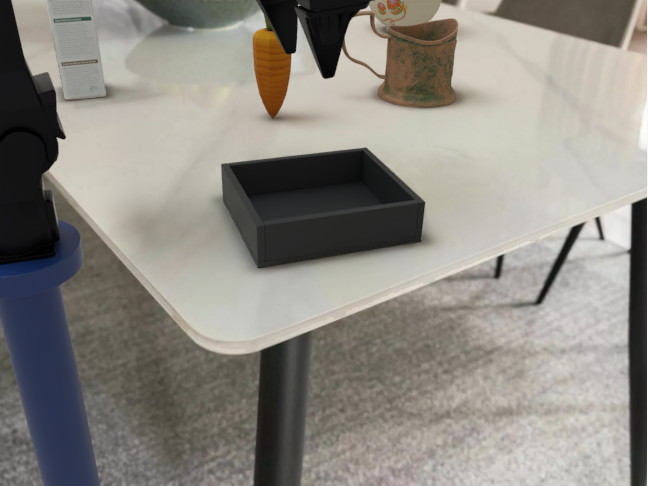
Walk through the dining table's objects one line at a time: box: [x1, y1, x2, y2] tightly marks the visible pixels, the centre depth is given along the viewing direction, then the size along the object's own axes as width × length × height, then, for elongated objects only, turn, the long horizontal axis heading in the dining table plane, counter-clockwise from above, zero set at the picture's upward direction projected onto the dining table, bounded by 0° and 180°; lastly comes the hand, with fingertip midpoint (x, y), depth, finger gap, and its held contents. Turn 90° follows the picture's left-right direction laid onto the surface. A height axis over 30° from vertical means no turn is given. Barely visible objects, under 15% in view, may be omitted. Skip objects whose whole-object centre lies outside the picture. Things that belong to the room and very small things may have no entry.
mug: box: [341, 10, 459, 109], centre depth 96 cm, size 12×18×12 cm, turn 104°
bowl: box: [368, 0, 443, 33], centre depth 133 cm, size 16×16×10 cm
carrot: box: [252, 14, 293, 119], centre depth 86 cm, size 5×5×15 cm
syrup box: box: [45, 0, 107, 101], centre depth 93 cm, size 6×6×14 cm
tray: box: [220, 147, 426, 268], centre depth 64 cm, size 15×13×4 cm
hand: (308, 65), depth 66 cm, fingers open, 9 cm apart
